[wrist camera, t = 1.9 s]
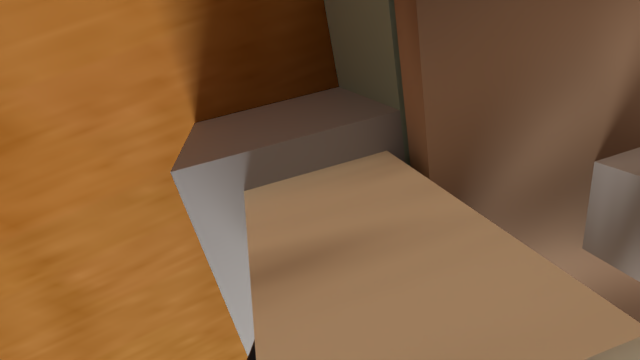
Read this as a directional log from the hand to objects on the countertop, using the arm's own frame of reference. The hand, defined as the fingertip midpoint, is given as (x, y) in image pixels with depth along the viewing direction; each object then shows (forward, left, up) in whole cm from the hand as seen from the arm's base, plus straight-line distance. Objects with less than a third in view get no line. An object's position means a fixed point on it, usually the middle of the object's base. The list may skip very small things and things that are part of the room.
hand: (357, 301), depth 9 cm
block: (0, 0, -2) cm, 2 cm away
